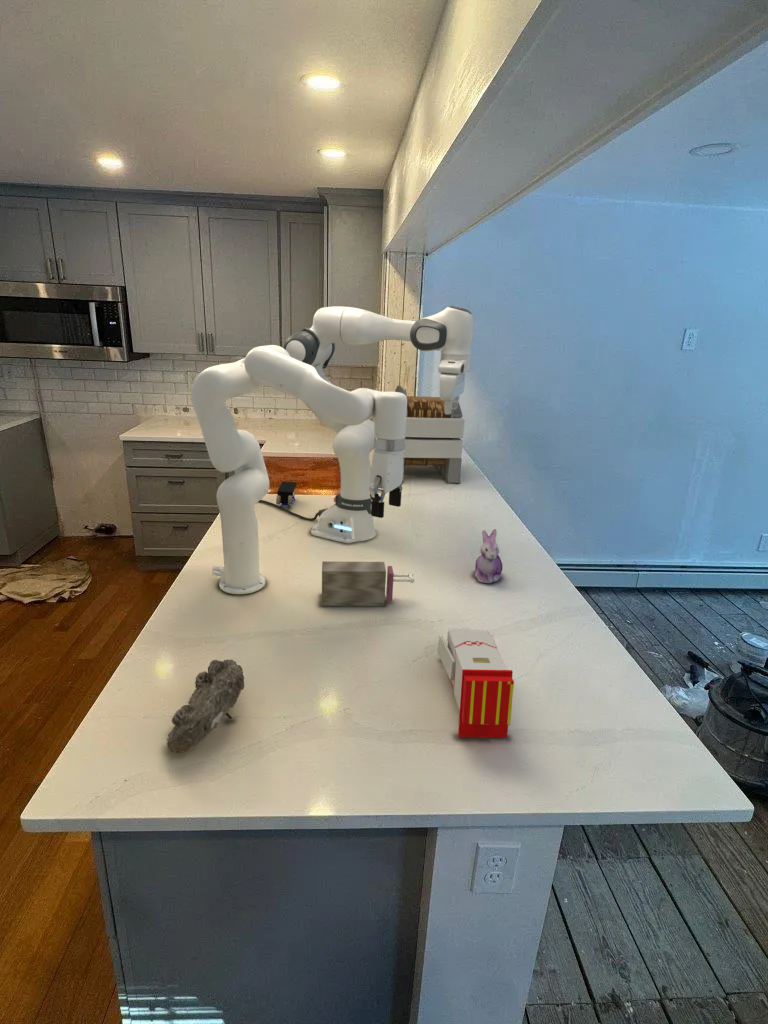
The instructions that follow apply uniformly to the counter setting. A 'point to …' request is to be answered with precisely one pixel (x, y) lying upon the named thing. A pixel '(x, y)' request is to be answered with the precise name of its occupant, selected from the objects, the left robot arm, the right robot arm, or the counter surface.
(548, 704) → the counter surface
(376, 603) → the cabinet
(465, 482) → the counter surface
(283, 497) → the figurine character
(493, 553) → the figurine
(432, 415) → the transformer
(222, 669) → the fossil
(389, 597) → the drawer
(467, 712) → the toy
